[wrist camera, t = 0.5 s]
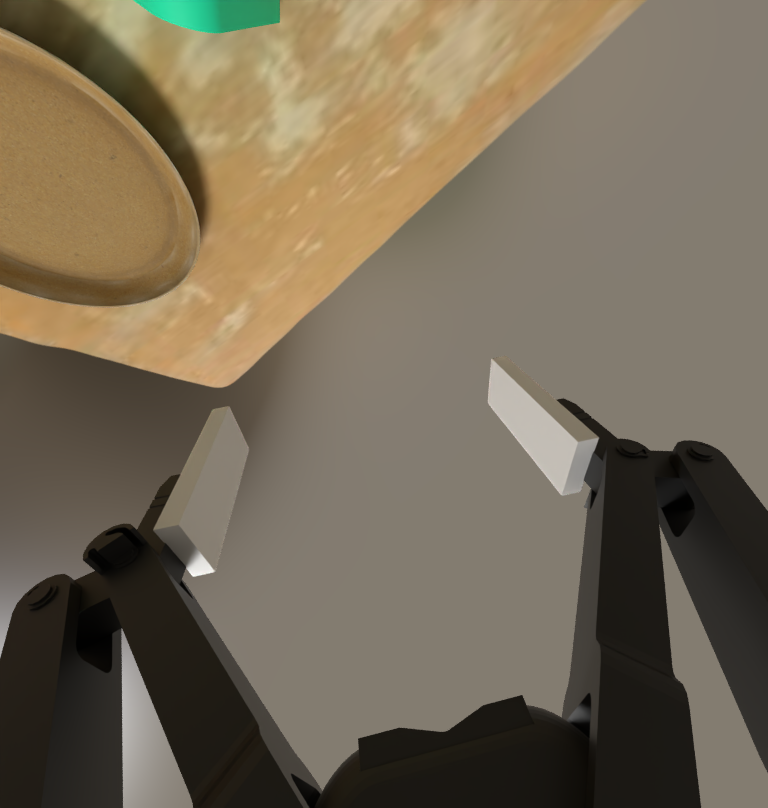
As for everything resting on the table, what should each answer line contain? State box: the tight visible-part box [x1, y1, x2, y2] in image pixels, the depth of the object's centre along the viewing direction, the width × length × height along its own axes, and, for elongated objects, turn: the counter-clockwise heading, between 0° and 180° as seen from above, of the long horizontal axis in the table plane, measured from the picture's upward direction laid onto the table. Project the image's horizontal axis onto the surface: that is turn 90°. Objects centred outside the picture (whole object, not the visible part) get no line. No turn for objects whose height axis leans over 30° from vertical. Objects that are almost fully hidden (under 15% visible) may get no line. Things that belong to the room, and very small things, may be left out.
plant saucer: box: [0, 27, 200, 308], centre depth 30 cm, size 24×24×3 cm
